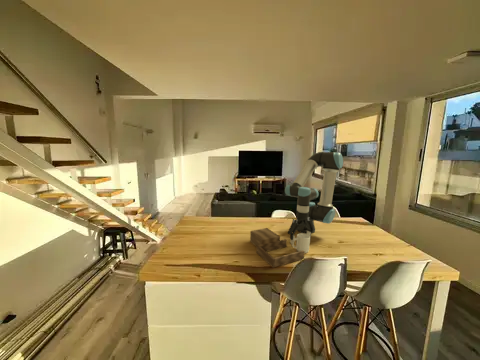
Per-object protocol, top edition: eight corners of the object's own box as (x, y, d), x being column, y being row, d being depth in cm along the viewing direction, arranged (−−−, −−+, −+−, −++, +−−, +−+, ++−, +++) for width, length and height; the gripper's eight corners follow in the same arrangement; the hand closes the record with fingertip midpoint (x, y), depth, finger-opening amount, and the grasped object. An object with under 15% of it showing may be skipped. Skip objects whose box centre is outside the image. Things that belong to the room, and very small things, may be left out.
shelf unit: (272, 236, 164) (272, 226, 163) (304, 258, 134) (304, 246, 132) (245, 242, 154) (245, 231, 153) (272, 267, 124) (273, 254, 122)
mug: (293, 253, 139) (294, 238, 138) (289, 247, 147) (289, 233, 146) (311, 253, 141) (312, 238, 139) (305, 247, 149) (306, 233, 147)
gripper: (312, 207, 148) (310, 237, 152) (283, 211, 137) (281, 243, 141) (321, 210, 142) (318, 241, 145) (291, 215, 131) (288, 248, 134)
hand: (300, 242), depth 143 cm, fingers open, 13 cm apart
